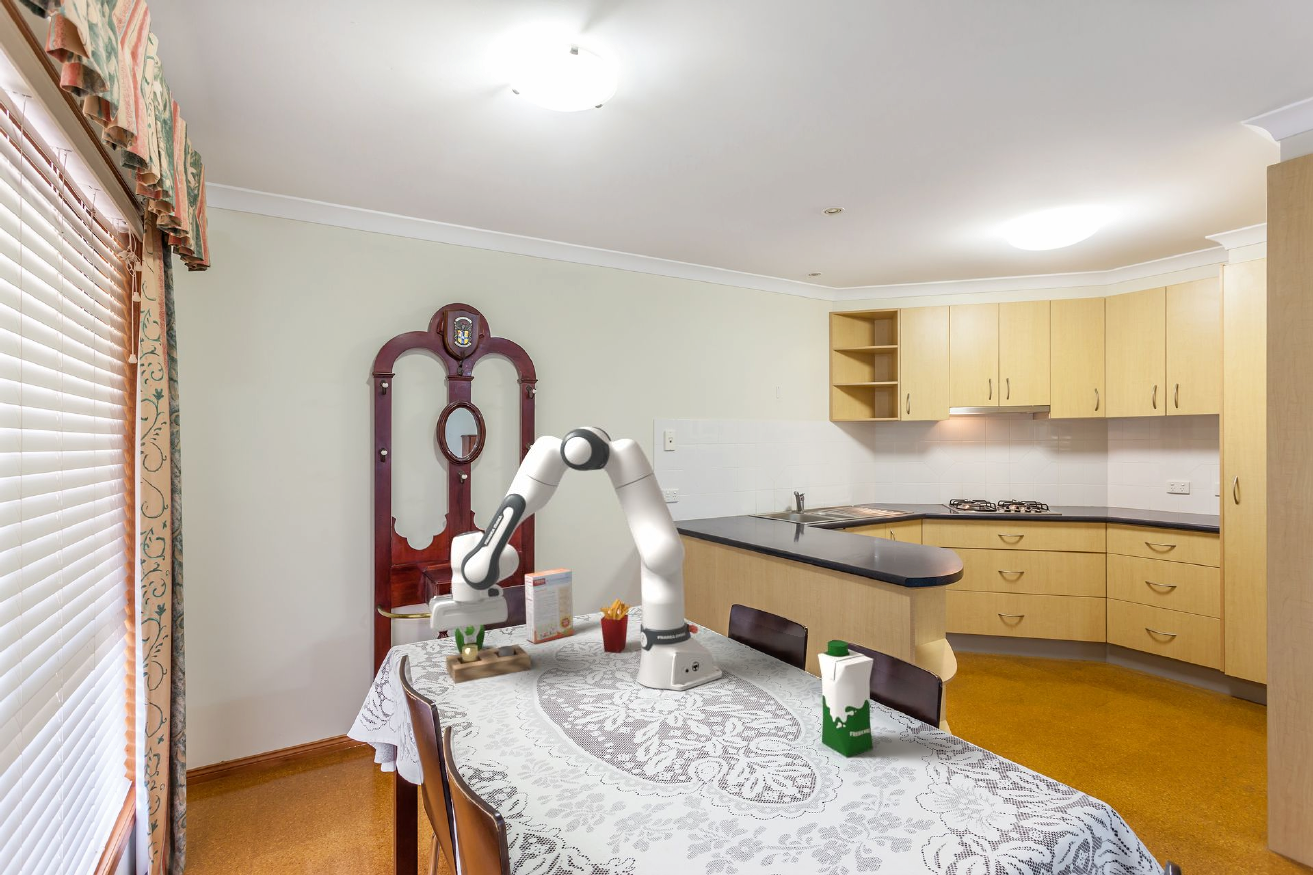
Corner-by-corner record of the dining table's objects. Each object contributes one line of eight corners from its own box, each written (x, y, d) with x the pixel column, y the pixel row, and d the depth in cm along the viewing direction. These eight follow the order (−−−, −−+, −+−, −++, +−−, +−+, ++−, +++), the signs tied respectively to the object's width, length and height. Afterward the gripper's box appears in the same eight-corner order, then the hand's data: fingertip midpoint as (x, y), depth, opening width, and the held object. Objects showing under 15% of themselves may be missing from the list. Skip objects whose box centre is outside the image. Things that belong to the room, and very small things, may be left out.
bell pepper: (491, 651, 196) (490, 617, 196) (470, 659, 189) (469, 624, 189) (471, 646, 200) (471, 613, 200) (450, 654, 193) (449, 620, 193)
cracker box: (564, 631, 215) (563, 567, 215) (573, 635, 210) (572, 569, 210) (525, 639, 206) (524, 573, 206) (534, 644, 201) (533, 576, 201)
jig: (517, 656, 190) (517, 639, 190) (530, 669, 179) (530, 650, 179) (446, 669, 181) (446, 651, 181) (455, 683, 170) (454, 663, 170)
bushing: (476, 669, 180) (475, 643, 180) (479, 673, 177) (478, 647, 177) (461, 671, 178) (460, 645, 178) (464, 676, 175) (463, 649, 175)
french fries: (600, 652, 192) (599, 601, 192) (610, 644, 200) (609, 594, 200) (628, 654, 190) (627, 603, 190) (637, 646, 198) (636, 596, 198)
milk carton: (847, 732, 138) (845, 636, 138) (880, 750, 130) (878, 648, 130) (815, 741, 134) (813, 643, 134) (847, 760, 126) (845, 656, 126)
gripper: (430, 599, 170) (432, 652, 170) (508, 588, 180) (510, 639, 180) (426, 594, 176) (428, 646, 176) (502, 584, 185) (504, 633, 185)
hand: (470, 642), depth 178 cm, fingers closed
